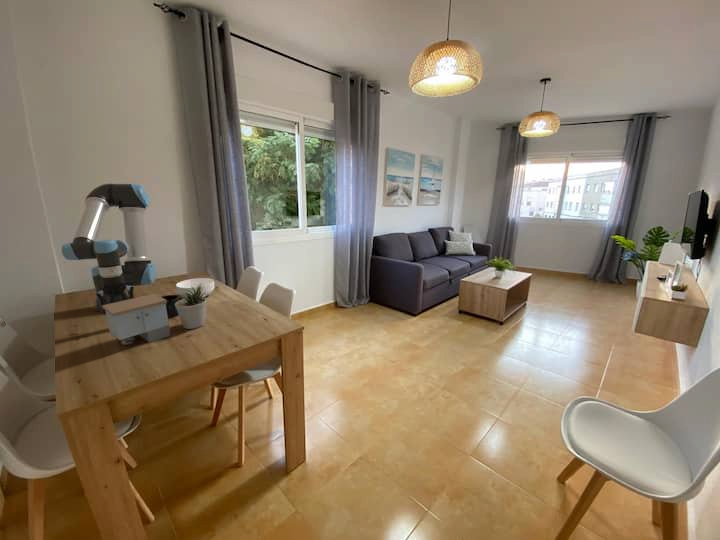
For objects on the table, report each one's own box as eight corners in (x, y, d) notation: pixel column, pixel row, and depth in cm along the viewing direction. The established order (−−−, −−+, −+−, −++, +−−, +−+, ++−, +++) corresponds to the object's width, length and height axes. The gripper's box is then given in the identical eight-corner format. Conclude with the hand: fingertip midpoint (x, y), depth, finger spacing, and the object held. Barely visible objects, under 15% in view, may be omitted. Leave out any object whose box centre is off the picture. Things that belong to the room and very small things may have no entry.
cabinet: (110, 342, 120) (102, 305, 116) (160, 327, 134) (154, 293, 130) (121, 353, 112) (113, 313, 108) (173, 335, 127) (167, 300, 122)
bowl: (222, 294, 178) (220, 281, 176) (189, 304, 162) (187, 290, 160) (203, 289, 188) (202, 276, 186) (171, 297, 172) (169, 283, 170)
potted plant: (189, 334, 128) (183, 290, 123) (172, 327, 135) (166, 285, 130) (216, 324, 138) (211, 283, 133) (199, 317, 145) (194, 278, 140)
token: (125, 346, 118) (124, 344, 117) (119, 343, 120) (119, 340, 119) (137, 342, 122) (137, 339, 121) (131, 338, 123) (131, 336, 123)
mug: (160, 322, 140) (157, 304, 137) (158, 314, 149) (155, 297, 146) (183, 317, 145) (180, 300, 143) (179, 310, 154) (177, 293, 152)
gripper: (88, 281, 119) (100, 334, 125) (138, 272, 133) (146, 321, 138) (83, 278, 124) (95, 329, 130) (132, 270, 137) (141, 317, 143)
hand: (122, 324), depth 134 cm, fingers closed on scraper, 4 cm apart
